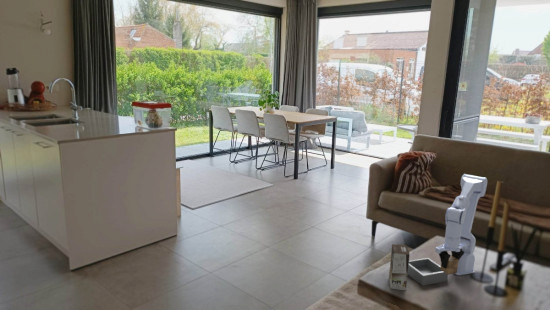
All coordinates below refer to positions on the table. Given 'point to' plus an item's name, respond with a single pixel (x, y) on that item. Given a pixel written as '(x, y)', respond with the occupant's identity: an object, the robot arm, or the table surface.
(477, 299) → the table surface
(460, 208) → the robot arm
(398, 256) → the coffee box
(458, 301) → the table surface
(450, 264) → the tan block
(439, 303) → the table surface
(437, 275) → the gray bin
